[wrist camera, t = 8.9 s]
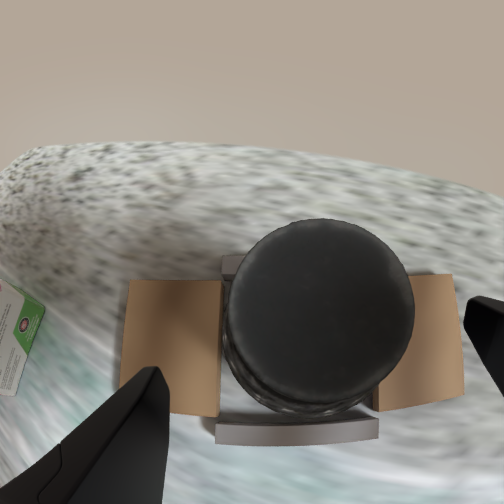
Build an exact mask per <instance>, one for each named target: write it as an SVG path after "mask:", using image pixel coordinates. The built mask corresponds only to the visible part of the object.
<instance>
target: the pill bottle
mask: <svg viewBox="0 0 504 504" xmlns="http://www.w3.org/2000/svg"><path fill="white" fill-rule="evenodd" d="M414 319H415V302H414V295H413V291H412V287H411V284H410V279H409V277H408V275H407V273H406V271H405V269H404V266H403V264H402V263H401V262H400V261H399V259H398V257H397V256H396V255H395V253H394V252H393V251H392V250H391V249H390V248H389V247H388V245H386V244H385V243H384V242H383V241H381V240H380V239H379V238H378V237H376V236H375V235H373V234H372V233H370V232H369V231H367V230H365V229H364V228H362V227H359V226H357V225H355V224H350V223H347V222H345V221H338V220H333V219H325V218H321V219H308V220H300V221H297V222H292V223H290V224H289V225H287V226H284V227H281V228H278V229H277V230H275V231H273V232H271V233H270V234H268V235H267V236H265V237H264V238H263V239H262V240H260V241H259V242H257V244H256V245H255V246H254V247H253V248H252V249H251V250H250V251H249V252H248V254H247V255H246V256H245V257H244V259H243V260H242V262H241V264H240V265H239V267H238V269H237V272H236V274H235V276H234V279H233V281H232V284H231V288H230V292H229V298H228V304H227V306H226V309H225V311H224V317H223V325H222V331H223V332H222V342H223V348H224V352H225V357H226V360H227V362H228V364H229V366H230V369H231V371H232V373H233V375H234V377H235V378H236V380H237V381H238V383H239V384H240V385H241V386H242V388H243V389H245V391H246V392H247V393H248V394H249V395H250V396H252V397H253V398H254V399H255V400H257V401H258V402H259V403H260V404H262V405H264V406H266V407H267V408H270V409H271V410H273V411H275V412H279V413H282V414H284V415H288V416H291V417H298V418H319V417H327V416H331V415H334V414H338V413H340V412H343V411H346V410H348V409H349V408H351V407H353V406H355V405H357V404H358V403H360V402H362V400H363V399H365V398H366V397H367V396H368V395H369V394H370V393H372V391H373V390H374V389H375V388H376V387H377V386H378V385H379V384H380V382H381V381H382V380H384V379H385V378H386V377H387V376H388V375H389V374H390V373H391V372H392V371H393V370H394V368H395V367H396V366H397V364H398V363H399V361H400V360H401V358H402V356H403V355H404V353H405V351H406V349H407V347H408V344H409V341H410V339H411V337H412V332H413V327H414Z"/></svg>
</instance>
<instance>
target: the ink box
mask: <svg viewBox="0 0 504 504" xmlns="http://www.w3.org/2000/svg"><path fill="white" fill-rule="evenodd" d="M44 311H45V308H44V306H43V305H41V304H40V303H38V302H37V301H36V300H34V299H33V298H32V297H30V296H29V295H28V294H26V293H25V292H23V291H22V290H20V289H19V288H17V287H15V286H13V285H12V284H10V283H8V282H6V281H4V280H2V279H1V278H0V395H6V396H15V395H16V391H17V387H18V384H19V381H20V377H21V374H22V371H23V368H24V365H25V362H26V359H27V356H28V353H29V350H30V347H31V344H32V342H33V339H34V336H35V334H36V331H37V329H38V326H39V323H40V321H41V319H42V316H43V314H44Z"/></svg>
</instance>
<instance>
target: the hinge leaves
mask: <svg viewBox="0 0 504 504" xmlns="http://www.w3.org/2000/svg"><path fill="white" fill-rule="evenodd" d="M245 256H246V255H234V256H222V271H221V275H222V277H223V279H224V281H233V279H234V276H235V274H236V272H237V269H238V267H239V265H240V264H241V262H242V260H243V259H244V257H245ZM408 277H409V279H410V284H411V287H412V291H413V295H414V302H415V319H414V327H413V332H412V337H411V339H410V341H409V344H408V347H407V349H406V351H405V353H404V355H403V356H402V358H401V360H400V361H399V363H398V364H397V366H396V367H395V368H394V370H393V371H392V372H391V373H390V374H389V375H388V376H387V377H386V378H385V379H384V380H382V381H381V382H380V384H379V385H378V386H377V387H376V388H375V389H374V390H373V411H377V412H382V411H389V410H395V409H401V408H407V407H412V406H417V405H422V404H427V403H432V402H436V401H441V400H445V399H449V398H453V397H457V396H461V395H464V369H463V353H462V341H461V332H460V323H459V315H458V308H457V302H456V295H455V289H454V284H453V279H452V274H438V275H419V276H408ZM223 302H224V285H223V283H222V282H221V280H130V285H129V292H128V299H127V307H126V315H125V323H124V332H123V342H122V353H121V366H120V381H119V389H120V388H121V387H122V386H123V385H124V384H125V383H126V382H127V381H129V380H130V379H131V378H132V377H133V376H134V375H135V374H136V373H137V372H138V371H140V370H141V369H142V368H143V367H147V366H158V367H159V368H160V370H161V372H162V374H163V376H164V378H165V380H166V383H167V385H168V387H169V390H170V413H177V414H185V415H195V416H206V417H217V416H219V415H220V379H221V350H222V324H223ZM378 433H379V419H378V418H375V417H367V418H358V419H349V420H338V421H325V422H308V423H237V422H218V423H216V424H215V444H223V445H240V446H307V445H324V444H336V443H346V442H355V441H363V440H370V439H377V438H378Z"/></svg>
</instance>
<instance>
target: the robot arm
mask: <svg viewBox="0 0 504 504" xmlns="http://www.w3.org/2000/svg"><path fill="white" fill-rule="evenodd" d="M463 325H464V329H465V331H466V333H467V335H468V336H469V338H470V340H471V342H472V344H473V345H474V347H475V349H476V351H477V353H478V355H479V357H480V359H481V360H482V362H483V364H484V366H485V367H486V369H487V371H488V372H489V374H490V375H491V377H492V379H493V380H494V382H495V383H496V385H497V387H498V388H499V390H500V392H501V393H502V395H503V397H504V301H500V300H496V299H492V298H488V297H484V296H476V297H473V298H470V299H469V300H468V302H467V306H466V311H465V316H464V321H463ZM169 422H170V390H169V387H168V385H167V383H166V380H165V378H164V376H163V374H162V372H161V370H160V368H159V367H158V366H147V367H143V368H142V369H141V370H140V371H138V372H137V373H136V374H135V375H134V376H133V377H132V378H131V379H130V380H129V381H127V382H126V383H125V384H124V385H123V386H122V387H121V388H120V389H119V390H118V391H116V392H115V393H114V394H113V395H112V396H111V397H110V398H109V399H108V400H107V401H105V402H104V403H103V404H102V405H101V406H100V407H99V408H98V409H97V410H95V411H94V412H93V413H92V414H91V415H90V416H89V417H88V418H87V419H85V420H84V421H83V422H82V423H81V424H80V425H79V426H78V427H76V428H75V429H74V430H73V431H72V432H71V433H70V434H69V435H67V436H66V437H65V438H64V439H63V440H62V441H61V442H60V444H57V445H56V446H55V447H54V448H53V449H52V450H50V451H49V452H48V453H47V454H46V455H45V456H43V457H42V458H41V459H40V460H39V461H37V462H36V463H35V464H33V465H32V466H31V467H30V468H28V469H27V470H25V471H24V472H23V473H21V474H20V475H19V476H17V477H16V478H14V479H13V480H11V481H10V482H9V483H7V484H6V485H4V486H3V487H1V488H0V504H162V498H163V488H164V480H165V471H166V463H167V455H168V447H169Z"/></svg>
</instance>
